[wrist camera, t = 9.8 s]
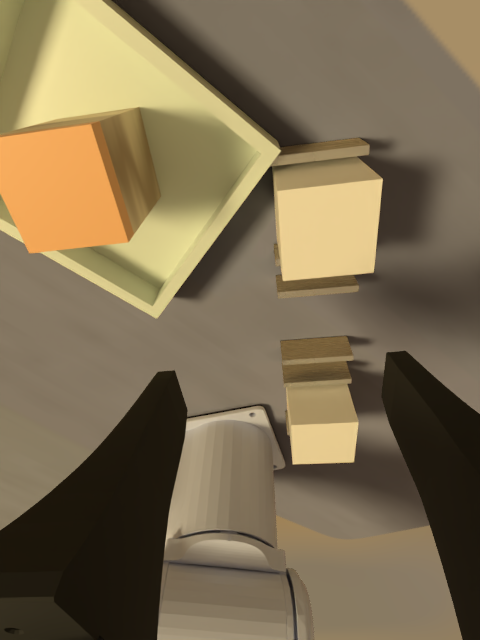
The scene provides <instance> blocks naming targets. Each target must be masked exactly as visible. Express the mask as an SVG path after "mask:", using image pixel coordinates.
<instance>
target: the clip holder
mask: <svg viewBox="0 0 480 640" xmlns="http://www.w3.org/2000/svg"><path fill="white" fill-rule="evenodd" d="M369 148H370V145H369V144H368V143H366V142H365V141H363V140H362V139H360V138H351V139H343V140H335V141H327V142H318V143H310V144H302V145H294V146H286V147H280V149H281V152H280V153H279V154H278V156H277V157H276V158H275V160H274V161H273V162H272V164H271V165H270V166H278V165H287V164H295V163H304V162H312V161H321V160H329V159H338V158H346V157H355V156H363V155H369ZM270 166H269V167H270ZM274 255H275V263H276V266H281V264H280V257H279V250H278V244H274ZM276 284H277V294H278V298H290V297H302V296H314V295H325V294H337V293H349V292H358V290H359V285H358V283H357V280H356V278H355V276H354V275H343V276H332V277H322V278H311V279H300V280H289V281H283V279H282V275H276ZM280 344H281V354H282V371H283V381H284V388H286V387H302V386H317V385H333V384H349V383H351V381H352V378H351V375H350V372H349V369H348V366H347V363H346V361H352V360H353V353H352V350H351V347H350V344H349V341H348V338H347V336H340V337H326V338H313V339H299V340H286V341H280ZM285 415H286V426H287V435H290V431H289V421H288V411H285Z"/></svg>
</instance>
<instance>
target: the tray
mask: <svg viewBox="0 0 480 640" xmlns="http://www.w3.org/2000/svg"><path fill="white" fill-rule="evenodd" d="M136 107H139V108H140V112H141V116H142V120H143V124H144V128H145V132H146V136H147V140H148V144H149V148H150V152H151V157H152V161H153V165H154V169H155V173H156V177H157V181H158V185H159V189H160V193H161V197H160V199H159V200H158V201H157V203H156V204H155V206H154V207H153V209H152V210H151V211H150V213H149V214H148V216H147V217H146V218H145V220H144V221H143V223H142V224H141V225H140V227H139V228H138V230H137V231H136V233H135V234H134V235H133V237H132V238H131V240H130V241H129V242H128V243H119V244H110V245H101V246H92V247H83V248H74V249H65V250H56V251H47V252H40V253H42V254H44V255H45V256H47V257H49V258H51V259H53V260H54V261H56V262H58V263H60V264H61V265H63V266H65V267H67V268H68V269H70V270H72V271H74V272H75V273H77V274H79V275H81V276H82V277H84V278H86V279H88V280H89V281H91V282H93V283H95V284H96V285H98V286H100V287H102V288H104V289H105V290H107V291H109V292H111V293H112V294H114V295H116V296H118V297H119V298H121V299H123V300H125V301H126V302H128V303H130V304H132V305H133V306H135V307H137V308H139V309H140V310H142V311H144V312H146V313H147V314H149V315H151V316H153V317H154V318H156V319H157V318H158V317H159V315H160V314H161V313H162V311H163V310H164V309H165V307H166V306H167V305H168V303H169V302H170V300H171V299H172V298H173V296H174V295H175V294H176V292H177V291H178V290H179V288H180V287H181V286H182V284H183V283H184V282H185V280H186V279H187V277H188V276H189V275H190V273H191V272H192V271H193V269H194V268H195V267H196V265H197V264H198V263H199V261H200V260H201V259H202V257H203V256H204V254H205V253H206V252H207V250H208V249H209V248H210V246H211V245H212V244H213V242H214V241H215V240H216V238H217V237H218V236H219V234H220V233H221V231H222V230H223V229H224V227H225V226H226V225H227V223H228V222H229V221H230V219H231V218H232V217H233V215H234V214H235V213H236V211H237V210H238V208H239V207H240V206H241V204H242V203H243V202H244V200H245V199H246V198H247V196H248V195H249V194H250V192H251V191H252V190H253V188H254V187H255V185H256V184H257V183H258V181H259V180H260V179H261V177H262V176H263V175H264V173H265V172H266V171H267V169H268V168H269V166H270V165H271V164H272V162H273V161H274V160H275V158H276V157H277V156H278V154H279V153H280V152H281V149H280V146H279V143H278V141H277V140H276V139H275V138H273V137H272V136H271V135H270V134H269V133H268V132H266V131H265V130H264V129H263V128H262V127H261V126H259V125H258V124H257V123H256V122H255V121H253V120H252V119H251V118H250V117H249V116H248V115H246V114H245V113H244V112H243V111H242V110H240V109H239V108H238V107H237V106H236V105H235V104H233V103H232V102H231V101H230V100H229V99H227V98H226V97H225V96H224V95H223V94H222V93H220V92H219V91H218V90H217V89H216V88H215V87H213V86H212V85H211V84H210V83H209V82H207V81H206V80H205V79H204V78H203V77H202V76H200V75H199V74H198V73H197V72H196V71H194V70H193V69H192V68H191V67H190V66H189V65H187V64H186V63H185V62H184V61H183V60H182V59H180V58H179V57H178V56H177V55H176V54H174V53H173V52H172V51H171V50H170V49H169V48H167V47H166V46H165V45H164V44H163V43H161V42H160V41H159V40H158V39H157V38H156V37H154V36H153V35H152V34H151V33H150V32H148V31H147V30H146V29H145V28H144V27H143V26H141V25H140V24H139V23H138V22H137V21H136V20H134V19H133V18H132V17H131V16H130V15H128V14H127V13H126V12H125V11H124V10H123V9H121V8H120V7H119V6H118V5H117V4H115V3H114V2H113V1H112V0H0V134H2V133H6V132H10V131H14V130H17V129H21V128H25V127H29V126H32V125H36V124H40V123H44V122H47V121H51V120H55V119H61V118H68V117H74V116H81V115H88V114H95V113H102V112H108V111H115V110H122V109H129V108H136ZM0 230H2V231H3V232H5V233H7V234H9V235H10V236H12V237H14V238H16V239H17V240H19V241H21V242H23V243H24V241H23V239H22V237H21V235H20V233H19V231H18V229H17V227H16V225H15V223H14V221H13V219H12V217H11V215H10V213H9V210H8V208H7V206H6V204H5V202H4V200H3V198H2V196H1V194H0ZM24 244H25V243H24Z"/></svg>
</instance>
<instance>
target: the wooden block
mask: <svg viewBox="0 0 480 640" xmlns="http://www.w3.org/2000/svg"><path fill="white" fill-rule="evenodd" d="M0 194H1V196H2V198H3V200H4V202H5V204H6V206H7V208H8V210H9V213H10V215H11V217H12V219H13V221H14V223H15V225H16V227H17V229H18V231H19V233H20V235H21V237H22V239H23V241H24V243H25V245H26V247H27V249H28V251H29V253H38V252H47V251H56V250H65V249H74V248H83V247H92V246H101V245H110V244H119V243H128V242H129V241H130V240H131V238H132V237H133V235H134V234H135V233H136V231H137V230H138V228H139V227H140V225H141V224H142V223H143V221H144V220H145V218H146V217H147V216H148V214H149V213H150V211H151V210H152V209H153V207H154V206H155V204H156V203H157V201H158V200H159V199H160V197H161V193H160V189H159V185H158V181H157V177H156V173H155V169H154V165H153V161H152V157H151V152H150V148H149V144H148V140H147V136H146V132H145V128H144V124H143V120H142V116H141V112H140V108H139V107H136V108H129V109H122V110H115V111H108V112H102V113H95V114H88V115H81V116H74V117H68V118H61V119H55V120H51V121H47V122H44V123H40V124H36V125H32V126H29V127H25V128H21V129H17V130H14V131H10V132H6V133H2V134H0Z"/></svg>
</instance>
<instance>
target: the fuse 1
mask: <svg viewBox="0 0 480 640" xmlns="http://www.w3.org/2000/svg"><path fill="white" fill-rule="evenodd" d="M272 172H273V187H274V202H275V217H276V232H277V242H278V250H279V257H280V264H281V271H282V279H283V281H289V280H300V279H311V278H322V277H332V276H343V275H354V274H365V273H374V265H375V255H376V244H377V234H378V224H379V213H380V203H381V193H382V182H383V179H382V178H381V177H380V176H379V175H378V174H377V173H375V172H374V171H373V170H372V169H371V168H370V167H368V166H367V165H366V164H365V163H364V162H363V161H361V160H360V159H359V158H358V157H357V156H355V157H346V158H338V159H329V160H321V161H312V162H304V163H295V164H287V165H278V166H272Z"/></svg>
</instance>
